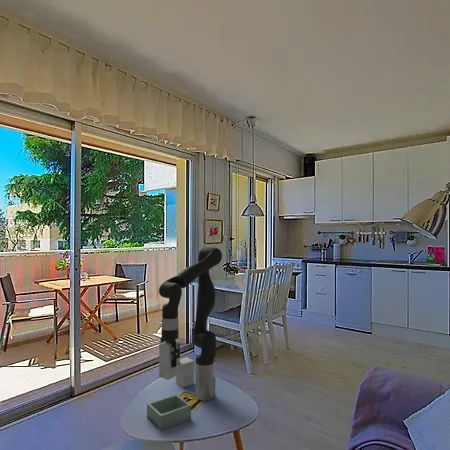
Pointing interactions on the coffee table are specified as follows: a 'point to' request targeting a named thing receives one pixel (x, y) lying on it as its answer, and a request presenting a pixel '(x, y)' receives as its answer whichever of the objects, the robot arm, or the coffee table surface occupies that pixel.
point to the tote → (168, 412)
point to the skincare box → (167, 361)
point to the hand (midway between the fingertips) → (169, 364)
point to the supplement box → (185, 372)
